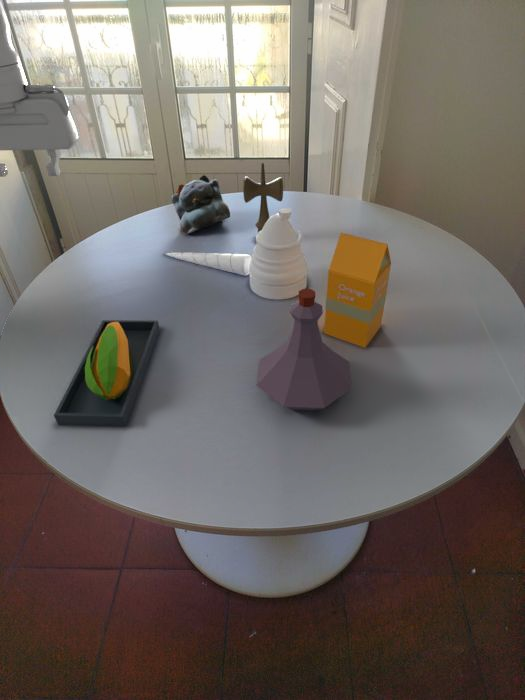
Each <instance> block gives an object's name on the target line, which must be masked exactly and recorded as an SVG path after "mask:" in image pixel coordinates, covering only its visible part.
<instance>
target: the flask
mask: <svg viewBox="0 0 525 700" xmlns="http://www.w3.org/2000/svg"><path fill="white" fill-rule="evenodd" d="M315 299H316V291H315V290H313V289H311V288H305V289H302V290H300V291H299V295H298V300H297V301H295V302H293V303H292V304H290V305H289V306H290V307H289V313H290V315H291V317H292V319H293V324H292V327H291V330H290V332H289V335H288V338H287V341H285V342H284V343H282V344H281V345H280V346H279V347H277V348H276V349H275V350H273V351H271V352H269V353H268V354H266V355H265V356H263V357H261V358H259V360H258V368H257V377H256V386H257V388H259V389H260V390H262V391H263V392H264V393H265V394H267V395H268V396H269V397H270V398H271V399H273V400H274V401H275V402H277V403H278V404H279V405H280V406H282V407H283V408H286V409H288V410H290V411H318V410H321V409H322V410H323V409H325V408H327V407H328V406H329V405H332V403H333V402H335V401H336V400H337V399H339V398H340V397H342V396H343V395H344V394H346V393H348V391H350V390H351V389H352V387H353V386H352V378H351V370H350V361H349V360H347V359H346V358H345V357H343V356H341V355H340V354H338V353H337V352H335V351H334V350H333V349H332V348H331V347H330V346H328V345H327V344H326V343H325V342H323V339H322V335H321V332H320V328H319V324H318V323H319V322H318V321H319V319H320V318H321V316H322V315H323V313H324V312H323V311H324V310H323V305H322V304H320V303H318V302H317V301H315Z"/></svg>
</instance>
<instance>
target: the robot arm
mask: <svg viewBox="0 0 525 700" xmlns="http://www.w3.org/2000/svg"><path fill="white" fill-rule="evenodd" d="M27 80H28V79H27V77H26V74H25V71H24V68H23V65H22V62H21V59H20V56H19V54H18V52H17V51H16V49H15V47H14V45H13V41H12V37H11V27H10V22H9V20H8V17H7V14H6V11H5V8H4V5H3V2H2V0H0V151H38V150H39V151H46V152H47V155H48V157H51V160H50V162H49V163H48V164H47V165H45V169H46V171H47V175H48V177H59V175H61V169H60V166H59V162H60V159H61V155H62V150H71V149H72V148H73V147H74V146H75V145H76V144H77V143H78V140H79V134H78V130H77V127H76V125H75V122H74V120H73V117H72V115H71V112H70V106H69V101H68V99H67V95H66V94H65V93H64V92H63V91H62V90H61V89H59V88H58V87H56V86H55V85H54V84H50V83H49V84H44V85H41V84H29V83H28V81H27ZM8 175H9V171H8V169H7V166H6V163H0V178H5V177H7V176H8Z"/></svg>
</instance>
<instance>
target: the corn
mask: <svg viewBox="0 0 525 700" xmlns="http://www.w3.org/2000/svg"><path fill="white" fill-rule="evenodd" d="M92 349H93V347H92V348H91V350H90V352H89V354H88V357H87V360H86V365H85V380H86V384H87V386H88V388H89V389H90V390H91V391H92V392H93V393H95V395H97V396H99V397H101V398H103V399H105V400H108V399H116V398H118V397H120V396H121V395H122V394H123V393H124V392H125V390H126V389H127V388H128V386H129V384H130V381H131V376H132V357H131V353H130V352H129V350H128V340H127V338H126V335H125V333H124V331H123V328H122V327H121V325H120V324H119V322H112V323H109V324H108V325H107V326H106V328H105V330H104V331H103V333H102V335H101V336H100V339H99V341H98V344H97V347H96V349H95V351H94V354H93V358H92V362H91V368H90V355H91V352H92Z"/></svg>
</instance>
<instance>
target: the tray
mask: <svg viewBox="0 0 525 700" xmlns="http://www.w3.org/2000/svg"><path fill="white" fill-rule="evenodd" d="M112 322H119V324H120V325H121V327H122V328H123V331H124V333H125V335H126V338H127V340H128V350H129V352H130V353H131V357H132V376H131V381H130V384H129V386H128V388H127V389H126V390H125V392H124V393H123V394H122V395H121V396H120V397H118V398H116V399H108V400H105V399H103V398H101V397H99V396H97V395H95V393H93V392H92V391H91V390H90V389H89V388H88V386H87V384H86V380H85V365H86V360H87V357H88V354H89V352H90V350H91V348H92V347H93V349H92V352H91V355H90V368H91V362H92V358H93V354H94V351H95V349H96V347H97V344H98V341H99V339H100V336H101V335H102V333H103V331H104V330H105V328H106V326H107V325H108V324H109V323H112ZM160 331H161V328H160V325H159V320H139V319H138V320H133V319H132V320H129V319H128V320H127V319H125V320H124V319H123V320H122V319H120V320H119V319H117V320H116V319H115V320H113V319H109V320H108V319H103V320H101V323H100V324H99V326H98V328H97V331H96V332H95V334H94V335H93V336H94V337H93V338H92V340H91V342H90V343H89V346H88V348H87V350H86V352H85V354H84V356H83V358H82V359H81V361H80V363H79V365H78V367H77V369H76V371H75V373H74V375H73V377H72V379H71V381H70V383H69V385H68V387H67V389H66V390H65V392H64V395H63V397H62V399H61V401H60V402H59V404H58V406H57V407H56V410H55V412H54V413H53V418H54V419H55V421H56V424H57V426H70V427H71V426H73V427H75V426H76V427H81V426H82V427H125V428H126V427H127V426H128V422H129V419H130V417H131V414H132V411H133V409H134V405H135V402H136V400H137V397H138V394H139V392H140V388H141V386H142V383H143V380H144V377H145V375H146V371H147V368H148V366H149V364H150V360H151V357H152V355H153V351H154V348H155V345H156V343H157V341H158V337H159V334H160Z"/></svg>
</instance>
